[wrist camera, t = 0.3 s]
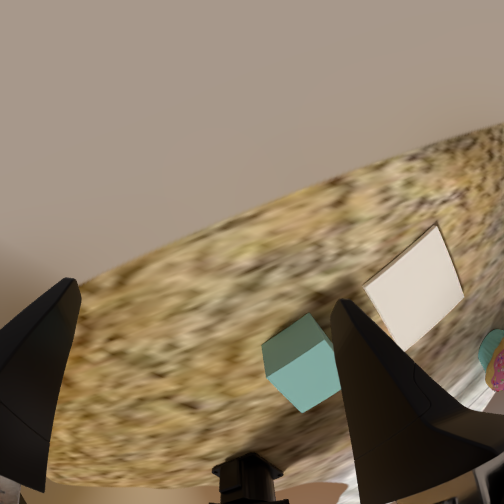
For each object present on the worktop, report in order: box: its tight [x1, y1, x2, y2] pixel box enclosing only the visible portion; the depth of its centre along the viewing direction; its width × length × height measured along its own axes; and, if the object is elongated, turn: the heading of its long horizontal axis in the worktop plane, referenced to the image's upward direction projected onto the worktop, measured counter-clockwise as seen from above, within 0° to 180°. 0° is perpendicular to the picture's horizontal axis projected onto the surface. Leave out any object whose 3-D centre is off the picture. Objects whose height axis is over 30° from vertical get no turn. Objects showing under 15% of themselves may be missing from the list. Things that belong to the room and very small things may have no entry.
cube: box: [261, 313, 341, 413], centre depth 23 cm, size 5×5×5 cm
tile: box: [362, 225, 464, 352], centre depth 24 cm, size 9×9×1 cm
